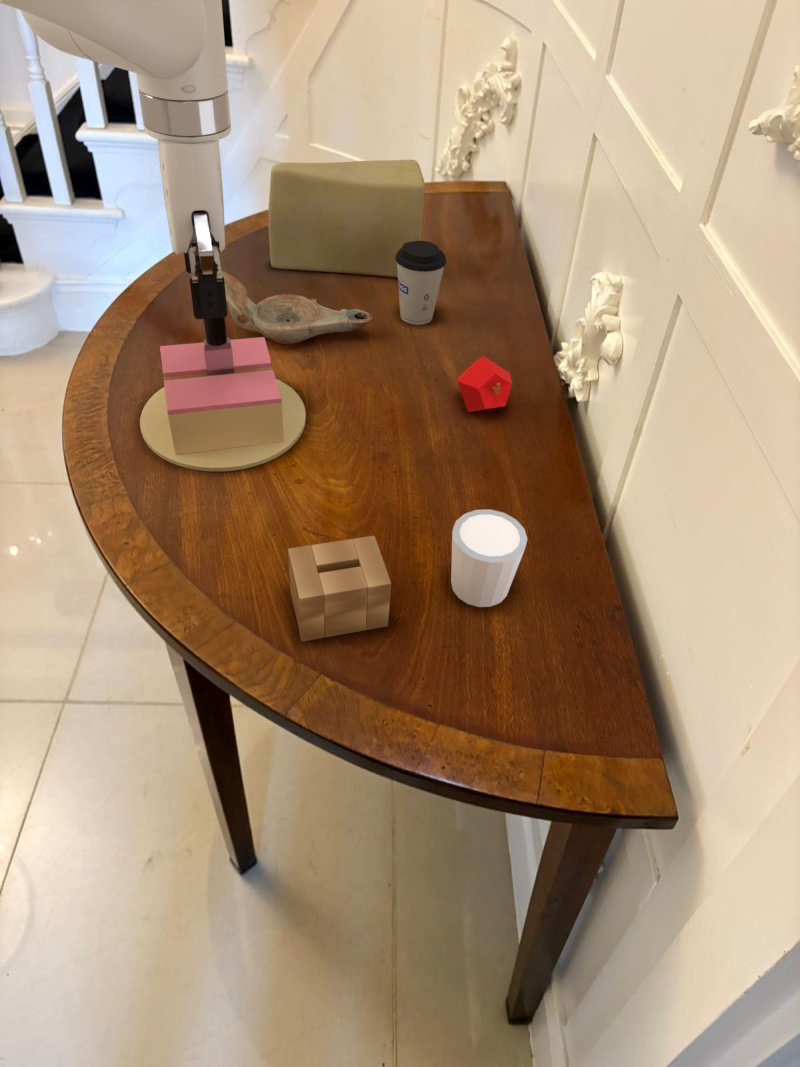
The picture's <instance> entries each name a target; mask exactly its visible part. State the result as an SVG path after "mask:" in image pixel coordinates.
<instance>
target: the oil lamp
mask: <svg viewBox="0 0 800 1067" xmlns="http://www.w3.org/2000/svg"><path fill="white" fill-rule="evenodd" d="M221 272H222V277H224V282H225V292H226V302H227V307H228V310H229V313H230V316H231V319H232V321H233V323H234V324H235V325H236V326H237V327H238V328H241V329H243V330H246V331H250V332H255V333H260V335H262V337H264V338H265V339H268V340H269V341H272V342H274V343H277V344H280V345H292V344H296V343H300V342H303V341H305V340H308V339H310V338H313V337H316V336H321V335H326V334H332V333H342V332H343V333H344V332H352V331H357V330H358V331H359V330H360V329H362V328H364V327H366V326H367V325H369V324H370V323H371V321H372V320H373V316H372V314H371V313H370V312H367V311H365V310H362V309H357V308H350V309H346V308H341V309H340V310H335V309H331V308H328V307H326V306H324V305H320V304H319V303H317V298H311V299H310V298H308V297H305V296H302V295H298V294H292V293H291V294H289V293H288V294H287V293H286V294H285V293H283V294H276V295H272V296H267V297H266V298H264V299H262V300H260V301H259V302H257V304H256V303H254V302H253V301H252V300H251V298H249V297H248V292H247V288H246V286H245V285H244V284H243V283H242V282H241V281H240V280H238V279H237V278H235V276H233V275H231V274H229V273H228V272H226V271H224V270H222V269H221ZM240 316H245V317H246V318H247V320H241V318H240Z"/></svg>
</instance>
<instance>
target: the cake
mask: <svg viewBox="0 0 800 1067" xmlns="http://www.w3.org/2000/svg"><path fill="white" fill-rule="evenodd" d="M230 342H231V346H232V353H233V363H234V372H235V374H225V375H215V376H207V370H206V362H205V355H204V341H203V342H192V343H181V344H169V345H160V346H159V349H160V359H161V367H162V375H163V387H161V388H160V389H158V390H157V391H156V392H155V393H153V395H152V396H150V398H149V399H148V400H147V402H146V403H145V405H144V406H143V409H142V410H141V414H140V417H139V426H140V432H141V436H142V439H143V442H145V444H146V446H148V448H149V449H150V450H151V451H152V452H153V453H154V454H155V455H156V456H158V457H159V458H161V459H163V460H164V461H167V462H168V463H170V464H172V465H175V466H178V467H182V468H186V469H188V470H194V471H200V472H212V473H213V472H219V473H220V472H223V473H224V472H232V471H233V472H234V471H239V470H246V469H250V468H254V467H257V466H261V465H263V464H266V463H268V462H271V461H272V460H274V459H277V458H278V457H280V456H282V455H283V454H285V453H286V452H288V450H290V449H291V448H292V447H293V446H294V445H295V444H297V442H298V440H299V439H300V438H301V436H302V434H303V432H304V431H305V426H306V422H307V412H306V407H305V404H304V401H303V400H302V398H301V396H300V395H299V394H298V393H297V392H296V391H295V390H294V389H293V388H292V387H291V386H290V385H288V384H287V383H285V382H283V381H282V380H280V379H277V377H276V374H275V370H274V369H273V364H272V360H271V355H270V352H269V349H268V345H267V342H266V337H264V336H260V337H249V338H238V339H230Z"/></svg>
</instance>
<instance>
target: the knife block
mask: <svg viewBox="0 0 800 1067" xmlns="http://www.w3.org/2000/svg"><path fill="white" fill-rule="evenodd" d="M287 558H288V561H287V562H288V576H289V592H290V596H291V601H292V606H293V610H294V614H295V618H296V623H297V628H298V631H299V637H300V641H301V643H302V642H309V641H313V640H319V639H324V638H330V637H336V636H341V635H346V634H353V633H359V632H364V631H370V630H375V629H382V628H387V627H389V617H390V606H391V591H392V581H391V578H390V575H389V572H388V570H387V566H386V564H385V561H384V558H383V555H382V552H381V550H380V547H379V544H378V541H377V538H376V535H368V536H362V537H356V538H355V537H354V538H349V539H343V540H342V539H341V540H335V541H329V542H323V543H316V544H309V545H303V546H296V547H290V548H287Z"/></svg>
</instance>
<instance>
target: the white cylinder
mask: <svg viewBox="0 0 800 1067" xmlns="http://www.w3.org/2000/svg"><path fill="white" fill-rule="evenodd" d="M527 542H528V536H527V533H526V529H525V528H524V527H523V525H522V524H521V523H520V522H519V521H518V519H516V518H515V517H513V516H511V515H509V514H507V513H506V512H504V511H503V512H502V511H499V510H495V509H474V510H472V511H468V512H466V513H464V514H462V515H461V516H460V517H459V518H458V519H457V520H455V522H454V524H453V527H452V532H451V563H450V564H451V565H450V566H451V569H450V583H451V589H452V591H453V593H454V594H455V596H456V597H457V598H458V599H459V600H461V601H462V602H463V603H465V604H467V605H470V606H474V607H477V608H490V607H493V606H496V605H499V604H501V603H502V602H503V601H504V600H505V599H506V597H508V593H509V591H510V588H511V586H512V584H513V581H514V579H515V576H516V574H517V570H518V569H519V566H520V562H521V561H522V558H523V555H524V554H525V553H524V552H525V550H526V547H527Z"/></svg>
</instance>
